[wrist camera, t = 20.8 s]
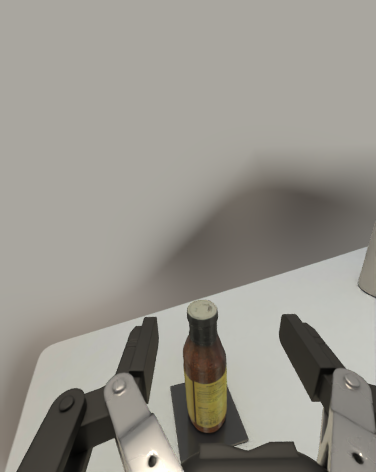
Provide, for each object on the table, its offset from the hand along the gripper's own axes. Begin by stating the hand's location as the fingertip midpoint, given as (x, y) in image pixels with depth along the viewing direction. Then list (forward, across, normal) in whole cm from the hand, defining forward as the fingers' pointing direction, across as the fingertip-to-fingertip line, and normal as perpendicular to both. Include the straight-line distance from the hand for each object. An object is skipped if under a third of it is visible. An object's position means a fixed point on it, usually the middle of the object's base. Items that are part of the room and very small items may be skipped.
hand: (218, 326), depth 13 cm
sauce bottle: (+11, 0, +28) cm, 30 cm away
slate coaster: (+11, 0, +28) cm, 30 cm away
